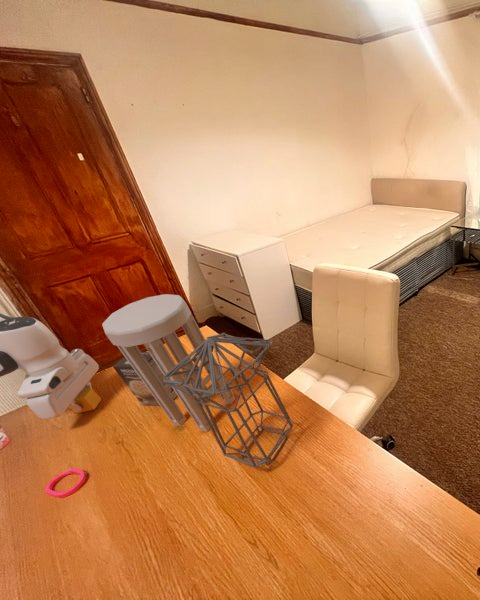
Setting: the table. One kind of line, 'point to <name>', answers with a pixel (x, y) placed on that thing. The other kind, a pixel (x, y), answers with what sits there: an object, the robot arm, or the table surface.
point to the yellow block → (87, 400)
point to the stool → (163, 351)
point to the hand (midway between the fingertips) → (85, 402)
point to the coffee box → (139, 380)
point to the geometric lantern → (203, 353)
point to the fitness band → (70, 491)
